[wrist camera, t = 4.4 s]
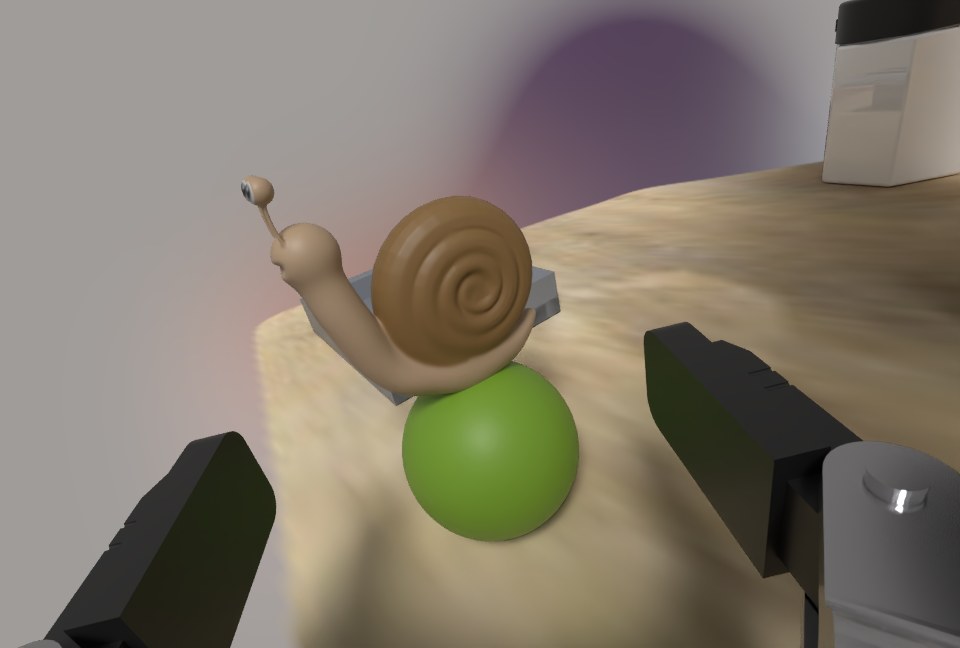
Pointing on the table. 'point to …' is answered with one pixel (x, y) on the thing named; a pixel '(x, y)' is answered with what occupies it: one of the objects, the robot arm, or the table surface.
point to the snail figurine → (447, 358)
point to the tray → (539, 299)
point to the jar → (894, 93)
